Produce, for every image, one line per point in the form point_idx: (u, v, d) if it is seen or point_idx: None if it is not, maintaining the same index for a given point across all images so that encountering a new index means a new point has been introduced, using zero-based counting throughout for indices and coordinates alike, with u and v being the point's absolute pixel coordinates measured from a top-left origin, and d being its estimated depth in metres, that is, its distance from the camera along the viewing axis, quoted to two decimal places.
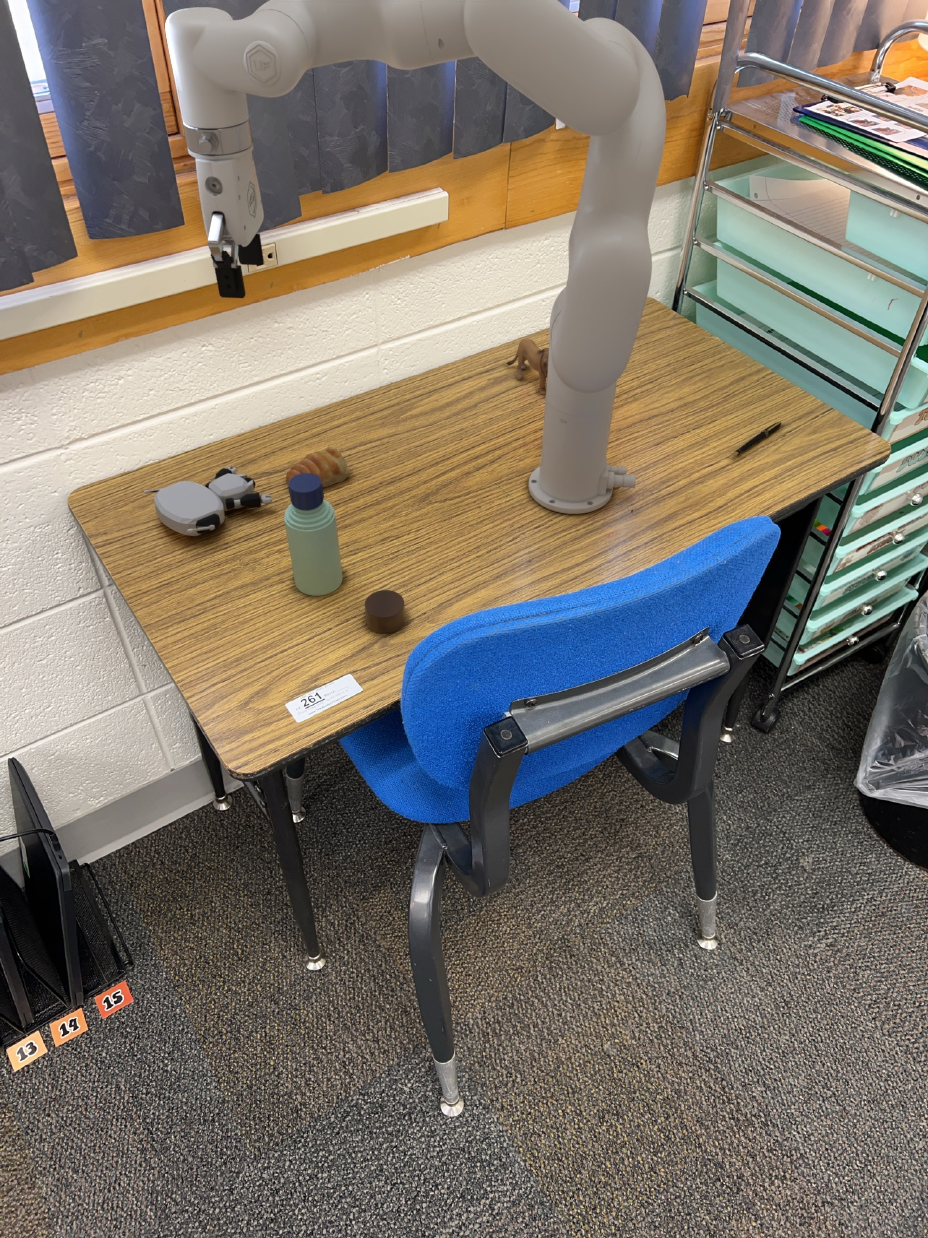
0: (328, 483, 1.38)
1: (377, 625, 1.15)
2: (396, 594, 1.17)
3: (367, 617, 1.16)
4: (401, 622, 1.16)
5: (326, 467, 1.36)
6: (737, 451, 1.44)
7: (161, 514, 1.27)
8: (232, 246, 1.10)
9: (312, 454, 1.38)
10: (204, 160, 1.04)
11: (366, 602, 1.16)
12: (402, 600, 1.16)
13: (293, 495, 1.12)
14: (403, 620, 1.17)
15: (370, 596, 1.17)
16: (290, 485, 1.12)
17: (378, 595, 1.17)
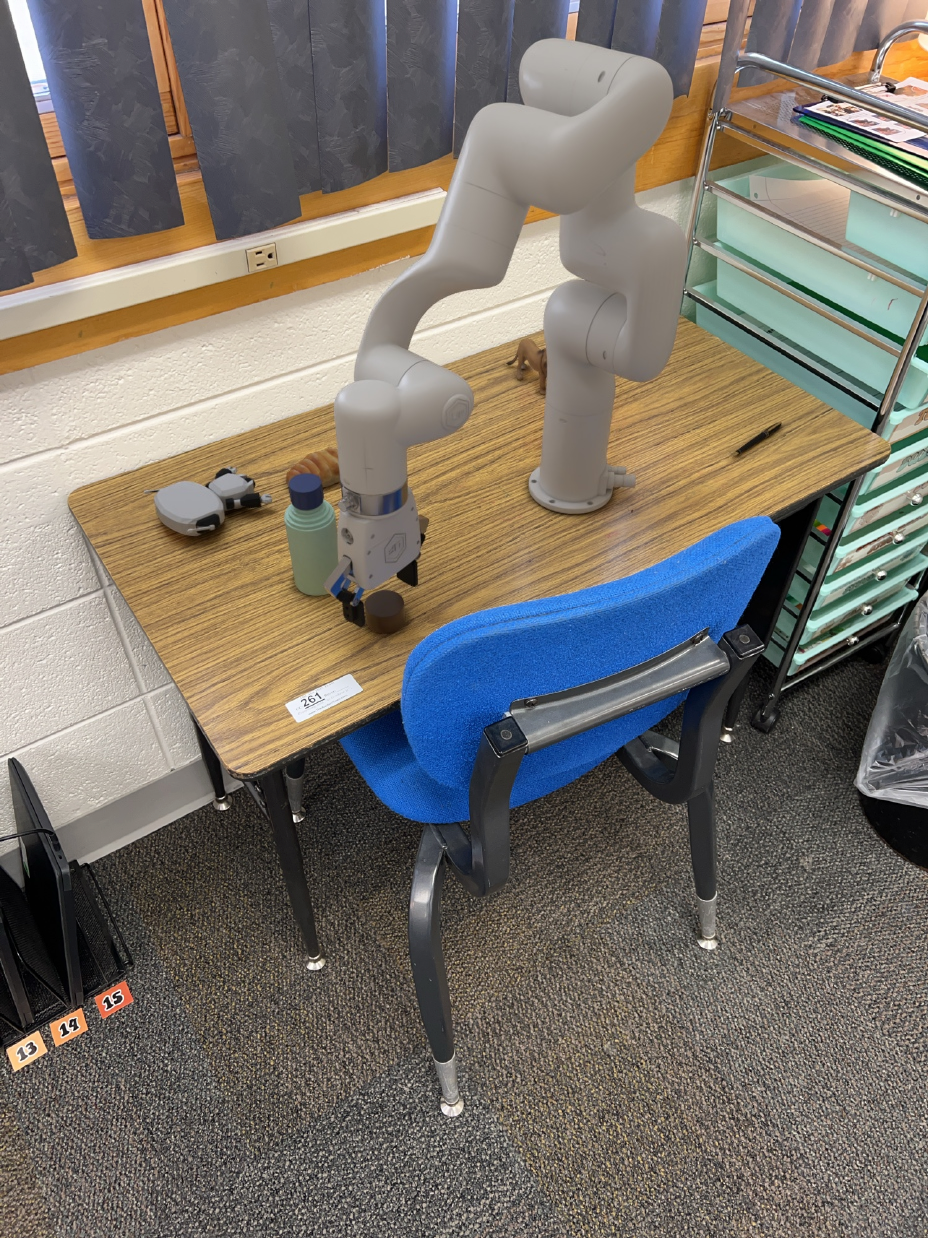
0: (328, 483, 1.38)
1: (377, 625, 1.15)
2: (396, 594, 1.17)
3: (367, 617, 1.16)
4: (401, 622, 1.16)
5: (326, 467, 1.36)
6: (737, 451, 1.44)
7: (161, 514, 1.27)
8: (357, 586, 1.07)
9: (312, 454, 1.38)
10: (345, 512, 1.02)
11: (366, 602, 1.16)
12: (402, 600, 1.16)
13: (293, 495, 1.12)
14: (403, 620, 1.17)
15: (370, 596, 1.17)
16: (290, 485, 1.12)
17: (378, 595, 1.17)
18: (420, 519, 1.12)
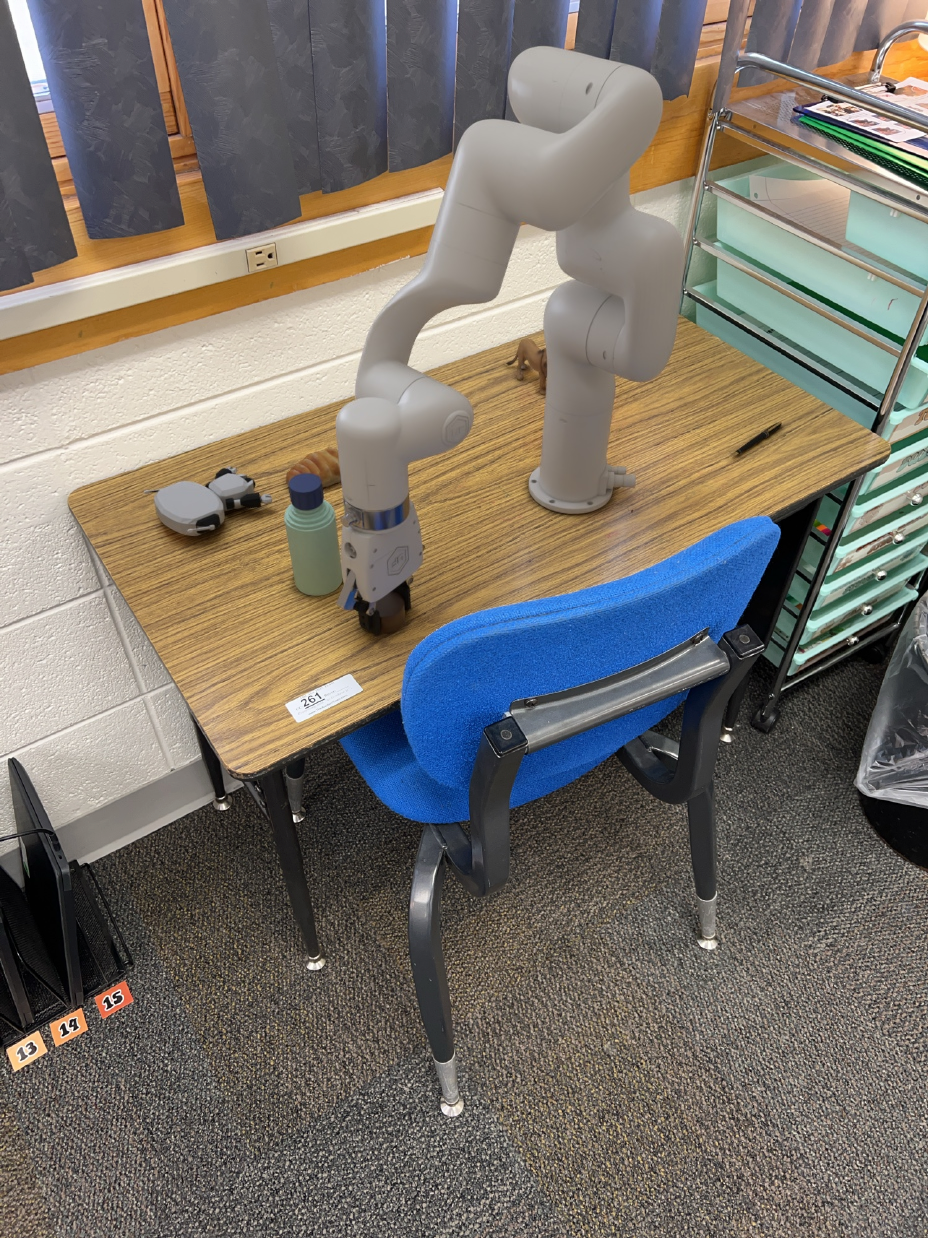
0: (328, 483, 1.38)
1: None
2: (396, 594, 1.17)
3: None
4: (401, 622, 1.16)
5: (326, 467, 1.36)
6: (737, 451, 1.44)
7: (161, 514, 1.27)
8: None
9: (312, 454, 1.38)
10: (347, 527, 1.04)
11: None
12: (402, 600, 1.16)
13: (293, 495, 1.12)
14: (403, 620, 1.17)
15: None
16: (290, 485, 1.12)
17: None
18: None
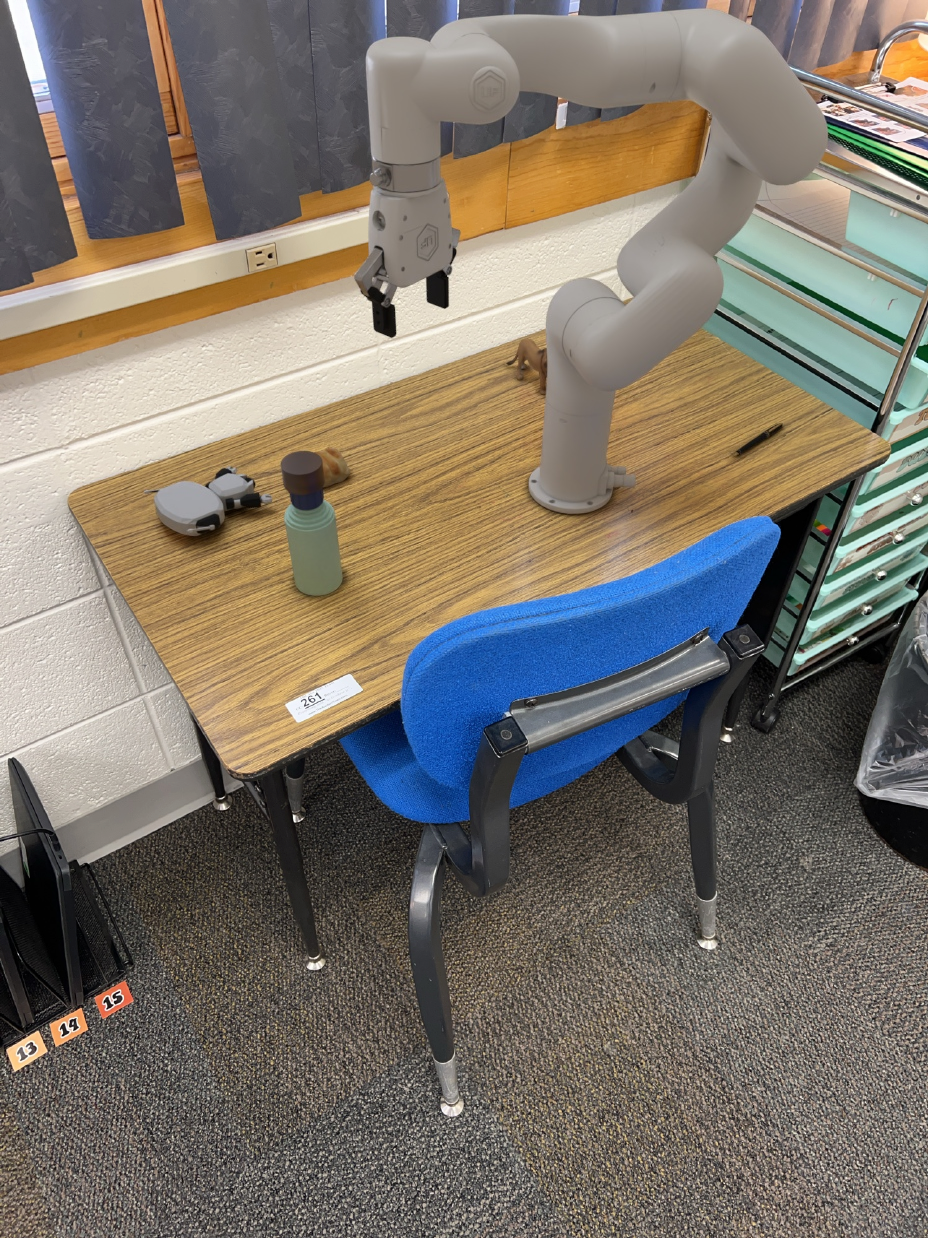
0: (328, 483, 1.38)
1: (293, 484, 1.09)
2: (314, 454, 1.11)
3: (283, 477, 1.10)
4: (319, 483, 1.10)
5: (326, 467, 1.36)
6: (737, 452, 1.44)
7: (161, 514, 1.27)
8: (388, 284, 1.04)
9: None
10: (376, 193, 0.99)
11: (282, 461, 1.10)
12: (320, 459, 1.10)
13: (293, 495, 1.12)
14: (322, 482, 1.11)
15: (287, 456, 1.11)
16: None
17: (295, 455, 1.11)
18: (451, 228, 1.09)
